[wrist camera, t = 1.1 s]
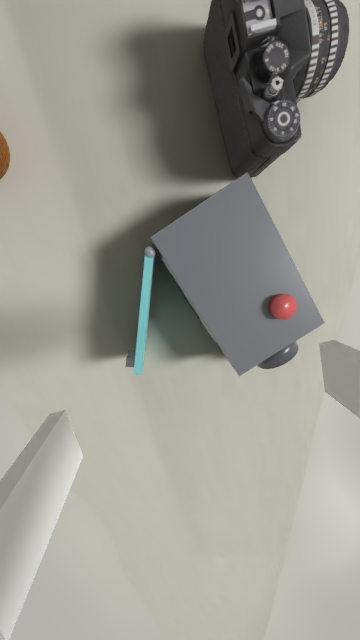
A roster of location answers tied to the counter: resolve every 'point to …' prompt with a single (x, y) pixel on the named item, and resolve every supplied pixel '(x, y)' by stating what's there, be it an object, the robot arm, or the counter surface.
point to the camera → (269, 70)
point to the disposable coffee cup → (3, 156)
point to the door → (143, 313)
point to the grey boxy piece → (239, 277)
